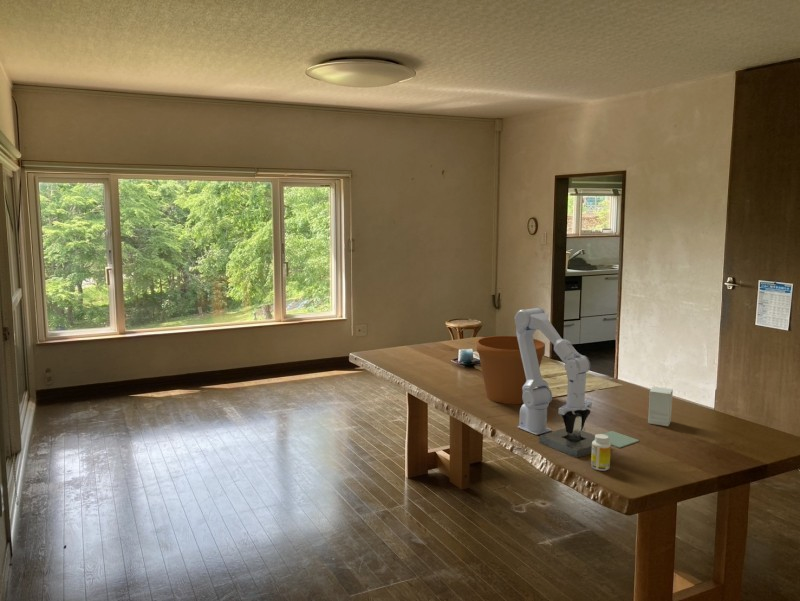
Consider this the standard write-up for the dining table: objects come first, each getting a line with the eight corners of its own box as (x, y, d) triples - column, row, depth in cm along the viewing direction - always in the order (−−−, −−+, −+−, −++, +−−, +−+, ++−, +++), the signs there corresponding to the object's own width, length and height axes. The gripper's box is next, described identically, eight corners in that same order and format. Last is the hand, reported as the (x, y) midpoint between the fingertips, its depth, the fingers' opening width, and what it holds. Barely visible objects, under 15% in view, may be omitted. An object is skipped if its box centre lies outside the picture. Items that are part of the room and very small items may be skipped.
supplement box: (671, 421, 235) (673, 388, 234) (668, 427, 229) (671, 393, 227) (650, 417, 239) (652, 385, 237) (647, 423, 233) (649, 390, 231)
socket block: (539, 442, 213) (539, 435, 213) (570, 433, 222) (570, 426, 222) (576, 458, 200) (577, 450, 200) (608, 447, 209) (608, 440, 209)
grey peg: (564, 440, 211) (565, 414, 210) (572, 437, 214) (574, 412, 213) (574, 444, 208) (575, 418, 206) (583, 441, 210) (584, 415, 209)
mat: (592, 438, 217) (592, 437, 217) (612, 431, 224) (612, 430, 224) (619, 448, 209) (619, 447, 208) (639, 441, 215) (639, 440, 215)
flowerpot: (548, 392, 271) (551, 339, 267) (534, 411, 245) (536, 353, 242) (486, 384, 282) (488, 333, 279) (466, 401, 257) (467, 346, 254)
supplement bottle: (612, 467, 193) (614, 436, 191) (604, 473, 189) (606, 440, 187) (595, 462, 197) (597, 431, 195) (587, 467, 193) (589, 436, 191)
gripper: (571, 398, 201) (569, 439, 203) (600, 391, 209) (597, 430, 211) (554, 393, 207) (552, 432, 209) (583, 386, 215) (581, 424, 217)
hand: (574, 431), depth 210 cm, fingers closed on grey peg, 4 cm apart
